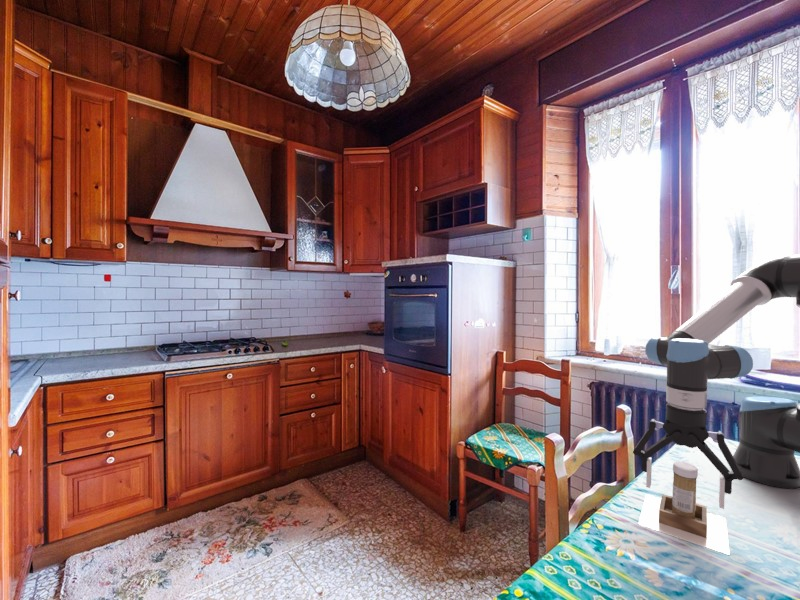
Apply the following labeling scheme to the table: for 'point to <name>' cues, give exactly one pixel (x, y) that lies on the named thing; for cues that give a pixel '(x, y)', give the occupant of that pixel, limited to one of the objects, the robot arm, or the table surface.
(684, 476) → the sprinkles bottle
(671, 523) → the collar
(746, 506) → the table surface
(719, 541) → the tile
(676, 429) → the robot arm
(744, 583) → the table surface
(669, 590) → the table surface
